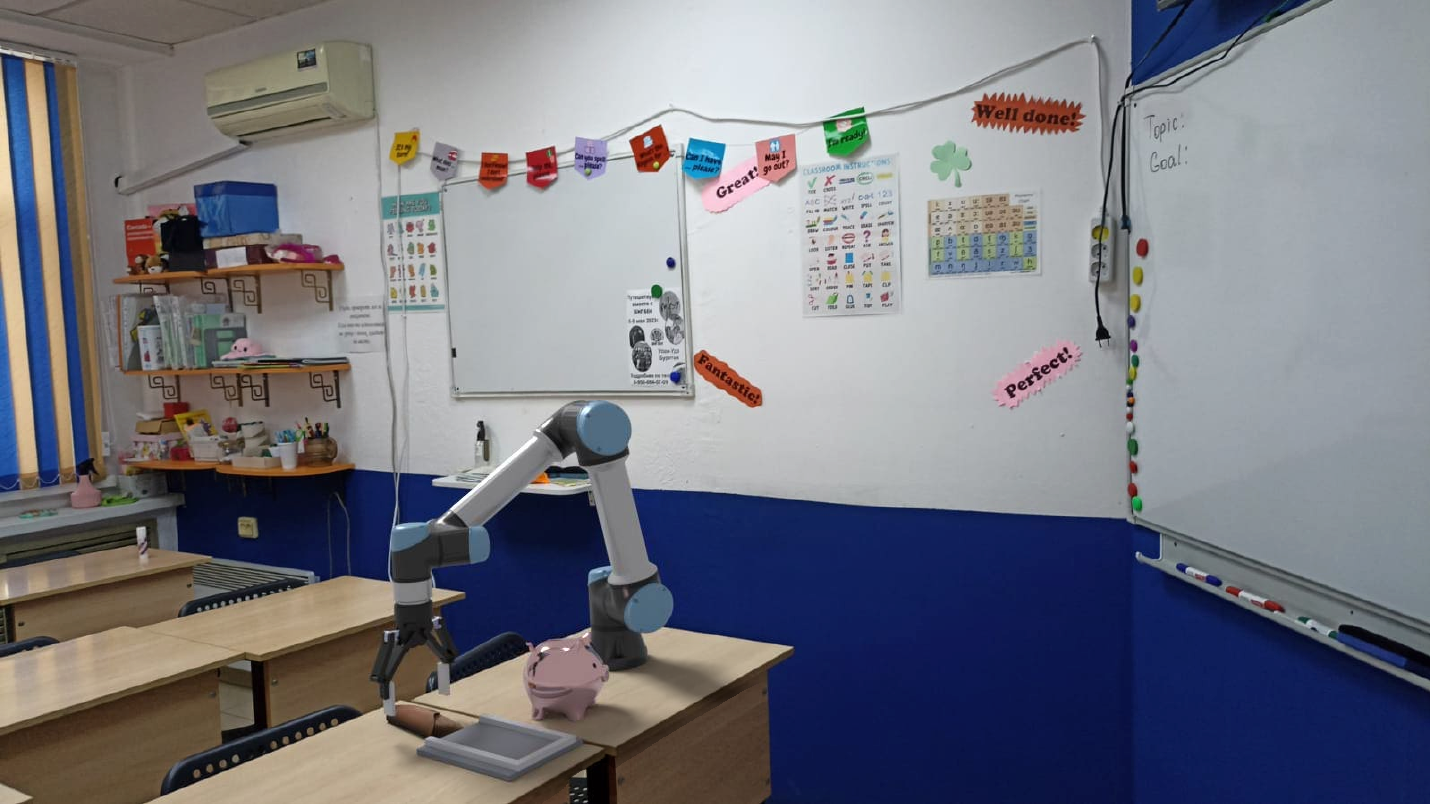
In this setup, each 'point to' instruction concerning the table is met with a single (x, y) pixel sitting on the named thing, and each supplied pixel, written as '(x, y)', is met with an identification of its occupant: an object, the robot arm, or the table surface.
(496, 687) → the table surface
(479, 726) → the rail cradle
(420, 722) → the sunglasses case
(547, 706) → the piggy bank
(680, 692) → the table surface
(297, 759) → the table surface
